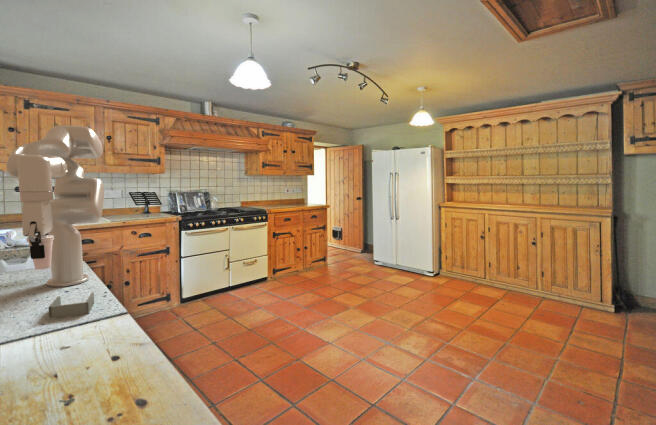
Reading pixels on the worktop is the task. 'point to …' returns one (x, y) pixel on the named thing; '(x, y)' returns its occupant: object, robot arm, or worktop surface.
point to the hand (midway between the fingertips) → (41, 254)
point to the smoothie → (46, 261)
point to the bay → (70, 308)
